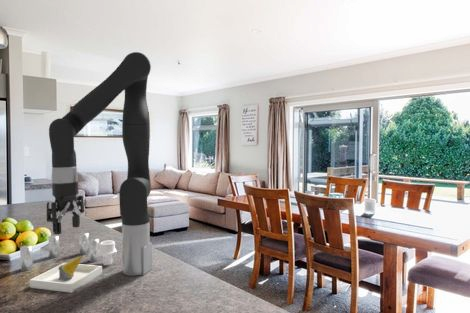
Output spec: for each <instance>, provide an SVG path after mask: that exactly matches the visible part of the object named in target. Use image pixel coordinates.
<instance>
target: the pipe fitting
mask: <svg viewBox="0 0 470 313" xmlns="http://www.w3.org/2000/svg"><path fill="white" fill-rule="evenodd" d="M115 246H116V242H115V241H114V240H112V239H111V240H103V241H101V242H99V251H98V256H99V257H102V264H103V266H111V265H112V264H113V256H114V255H117V254H118V253H117V252H118V251H117V248H116V247H115Z"/></svg>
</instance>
